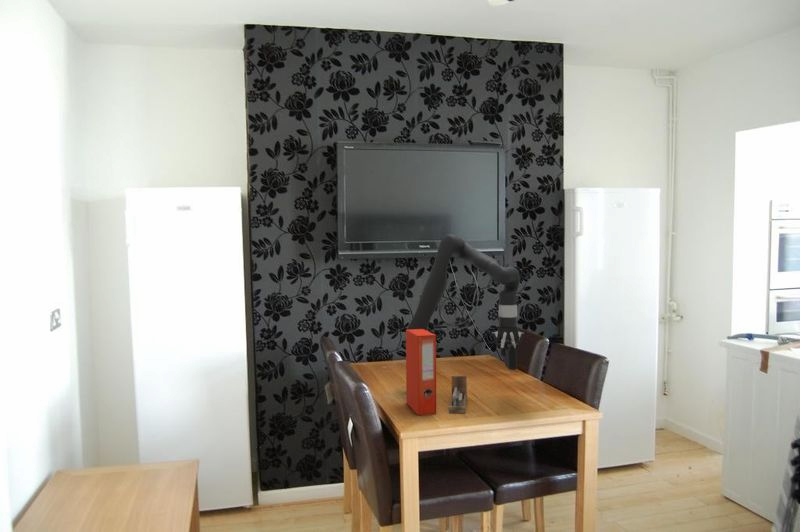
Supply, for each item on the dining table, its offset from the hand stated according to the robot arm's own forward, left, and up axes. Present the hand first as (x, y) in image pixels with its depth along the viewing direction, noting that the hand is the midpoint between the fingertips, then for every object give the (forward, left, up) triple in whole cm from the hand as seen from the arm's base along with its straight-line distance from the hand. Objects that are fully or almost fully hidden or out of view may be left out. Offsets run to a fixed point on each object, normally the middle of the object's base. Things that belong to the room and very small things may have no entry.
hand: (508, 356), depth 236 cm
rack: (-21, 0, -21) cm, 30 cm away
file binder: (-36, -6, -21) cm, 42 cm away
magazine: (0, 0, -3) cm, 3 cm away
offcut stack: (-21, 0, -21) cm, 30 cm away
